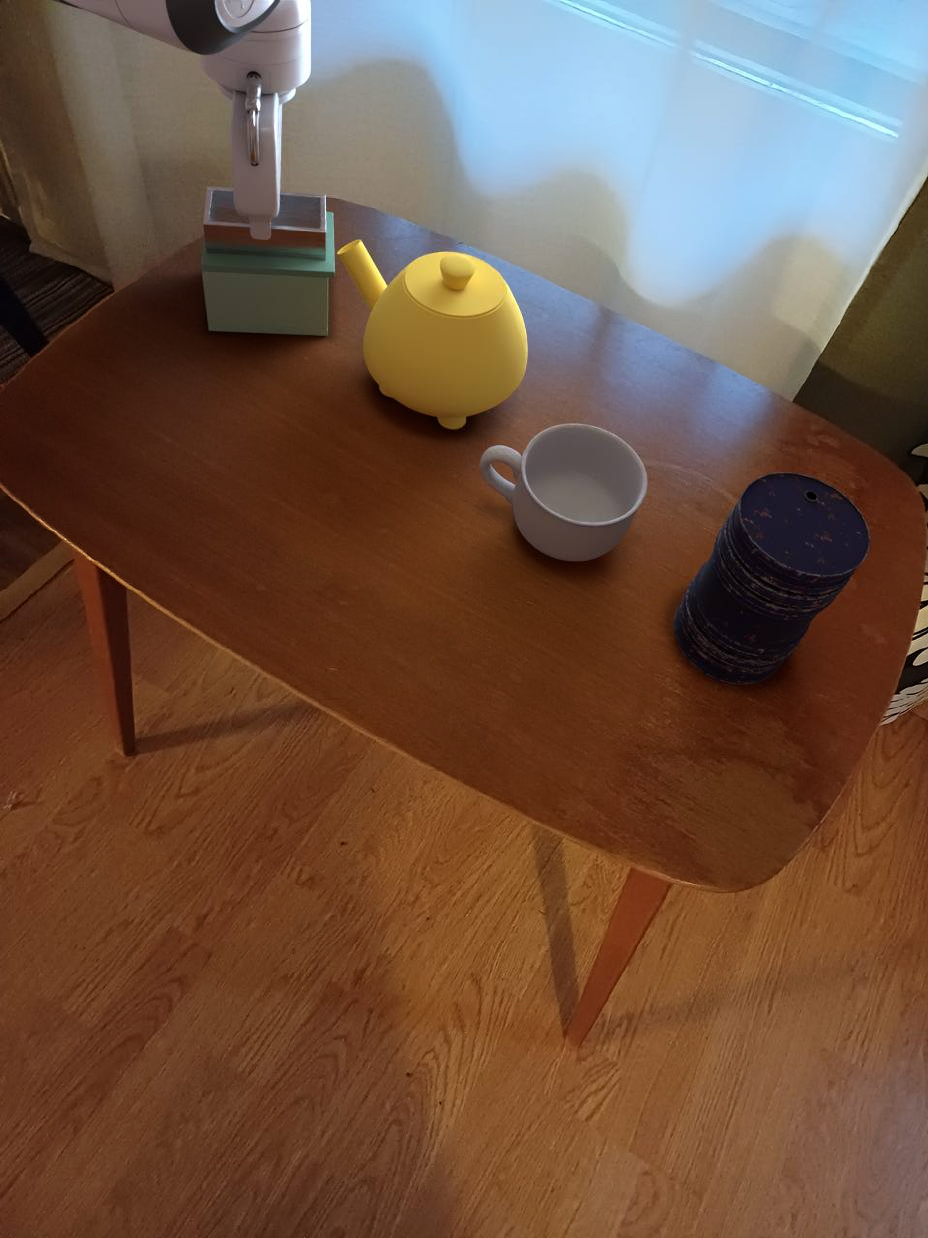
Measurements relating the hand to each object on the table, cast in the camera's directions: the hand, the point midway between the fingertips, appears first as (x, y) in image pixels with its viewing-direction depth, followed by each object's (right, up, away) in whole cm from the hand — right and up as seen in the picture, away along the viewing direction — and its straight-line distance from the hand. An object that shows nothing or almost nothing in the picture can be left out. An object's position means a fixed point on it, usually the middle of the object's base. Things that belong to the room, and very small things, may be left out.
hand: (262, 204), depth 86 cm
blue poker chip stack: (+41, -40, -7) cm, 58 cm away
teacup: (+26, -30, -3) cm, 40 cm away
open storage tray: (0, -2, +3) cm, 3 cm away
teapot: (+15, -14, +6) cm, 21 cm away
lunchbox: (-1, -6, +9) cm, 11 cm away
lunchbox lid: (0, -2, +4) cm, 4 cm away
